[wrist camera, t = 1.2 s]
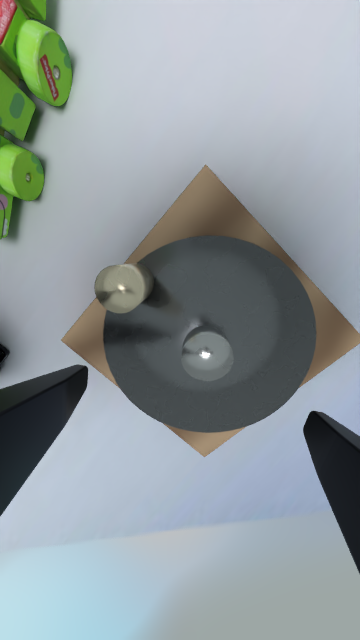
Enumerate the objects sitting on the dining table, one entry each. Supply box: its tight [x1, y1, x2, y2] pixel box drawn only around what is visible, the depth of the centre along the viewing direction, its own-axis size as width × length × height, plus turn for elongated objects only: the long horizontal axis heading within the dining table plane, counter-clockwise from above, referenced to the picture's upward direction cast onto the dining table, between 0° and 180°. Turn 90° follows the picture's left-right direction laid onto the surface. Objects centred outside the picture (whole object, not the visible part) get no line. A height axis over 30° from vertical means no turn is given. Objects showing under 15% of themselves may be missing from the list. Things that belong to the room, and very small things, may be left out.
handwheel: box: [95, 235, 317, 433], centre depth 17 cm, size 18×18×6 cm
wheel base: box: [61, 165, 360, 457], centre depth 21 cm, size 20×20×2 cm
